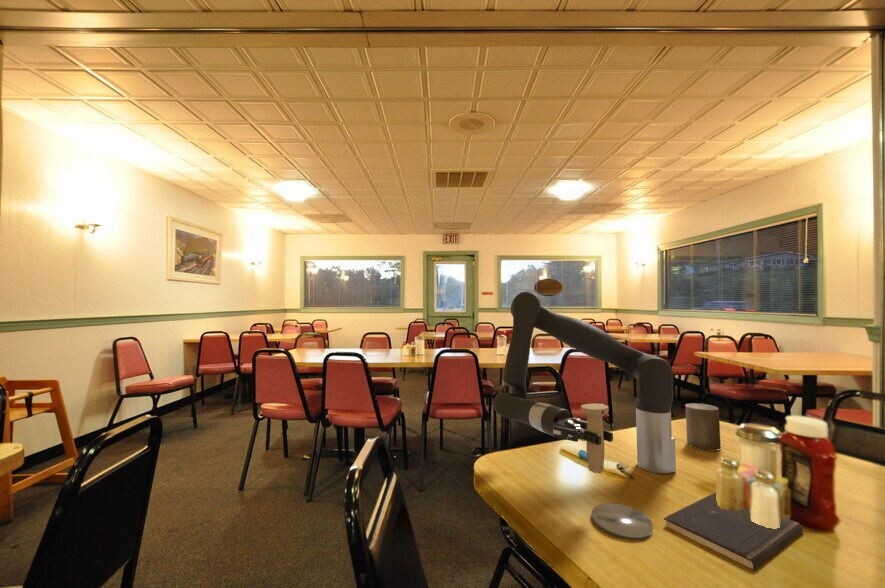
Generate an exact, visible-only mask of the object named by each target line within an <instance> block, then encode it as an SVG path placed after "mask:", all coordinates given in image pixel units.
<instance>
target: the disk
mask: <svg viewBox="0 0 885 588" xmlns="http://www.w3.org/2000/svg"><path fill="white" fill-rule="evenodd" d="M591 519H592V522H593V523H594V525H595V526H597V528H598V529H600V530H601V531H603V532H605V533H606V534H608V533H609V535H611V536H613V537H616V538H619V537H620V539H624V540H627V541H628V540H630V541H631V540H632V541H641V540H645V539H648V538H651V536H652V535H653V532H654V531H653V522H652V520H651V519H650V518H649V517H648V516H647V515H646V514H644V513H643V512H642V511H640V510H638V509H636V508H634V507H631V506H628V505H624V504H620V503H611V502H610V503H609V502H605V503H600V504H598V505H595V506H594V507H593V508H592V510H591Z"/></svg>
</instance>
